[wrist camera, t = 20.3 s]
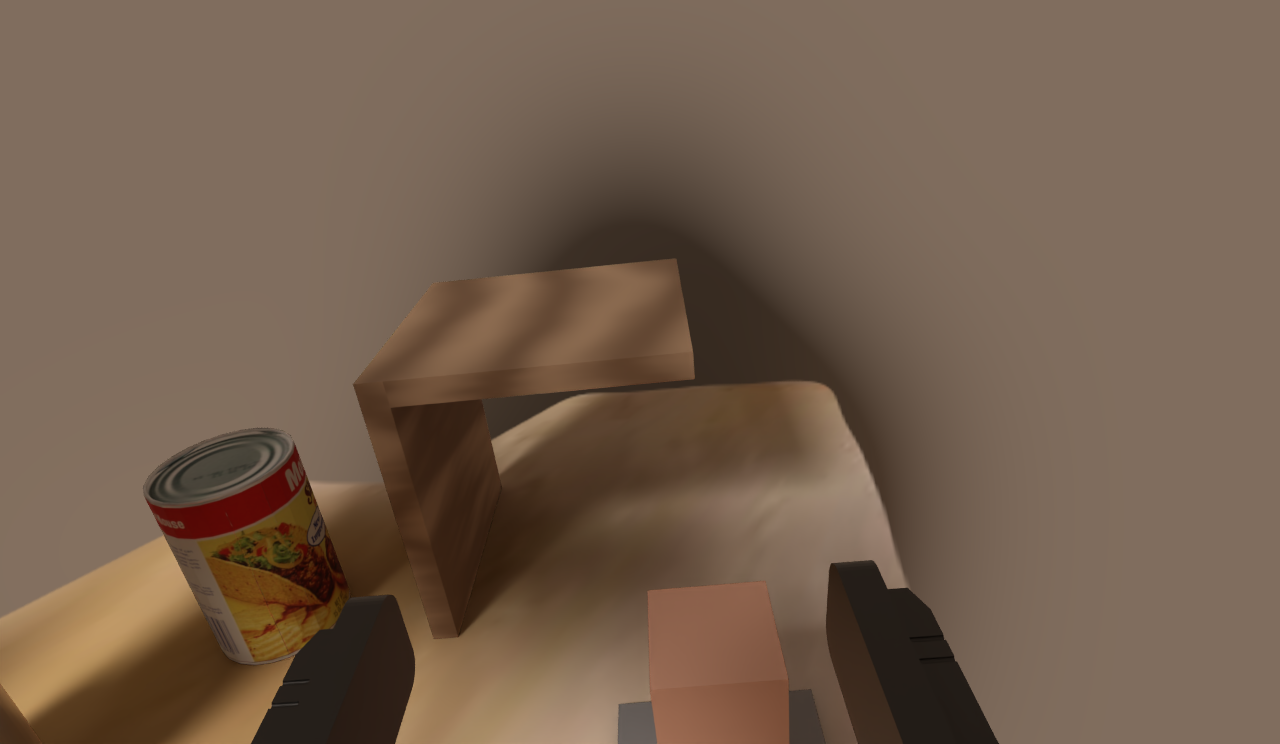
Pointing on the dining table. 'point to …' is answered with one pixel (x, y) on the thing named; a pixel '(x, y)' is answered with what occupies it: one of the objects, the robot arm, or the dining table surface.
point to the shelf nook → (500, 394)
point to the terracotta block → (717, 666)
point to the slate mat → (803, 721)
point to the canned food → (250, 542)
